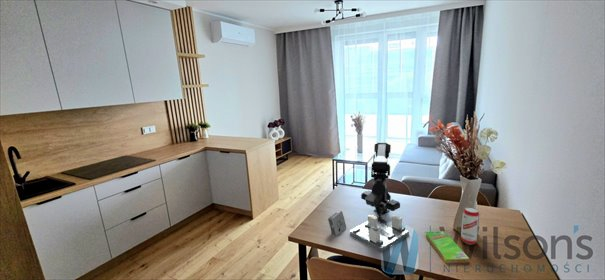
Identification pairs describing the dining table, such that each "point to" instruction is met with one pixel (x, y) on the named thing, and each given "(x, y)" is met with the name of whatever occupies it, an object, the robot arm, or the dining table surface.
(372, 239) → the breaker
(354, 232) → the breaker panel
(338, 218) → the electrical switch
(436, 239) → the game box
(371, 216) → the breaker
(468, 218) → the beer can
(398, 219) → the block
